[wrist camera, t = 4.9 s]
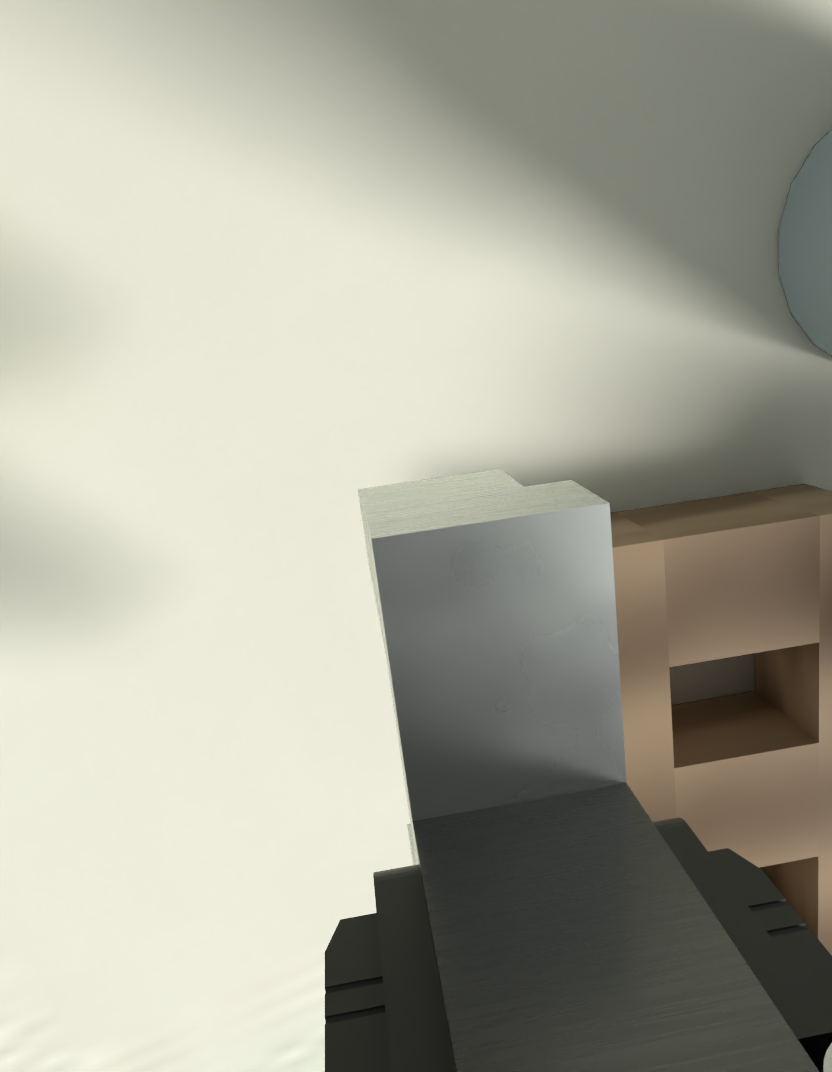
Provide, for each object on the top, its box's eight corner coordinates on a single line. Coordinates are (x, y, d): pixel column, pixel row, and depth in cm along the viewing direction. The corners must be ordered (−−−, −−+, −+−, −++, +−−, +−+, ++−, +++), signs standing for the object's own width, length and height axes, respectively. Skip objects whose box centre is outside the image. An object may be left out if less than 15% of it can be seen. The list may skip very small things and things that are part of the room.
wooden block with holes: (560, 520, 27) (599, 549, 24) (804, 483, 28) (881, 506, 24) (598, 987, 32) (635, 1074, 28) (805, 946, 33) (868, 1026, 29)
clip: (353, 456, 16) (417, 749, 5) (497, 435, 16) (885, 668, 5) (419, 906, 19) (557, 1748, 8) (541, 883, 19) (847, 1667, 8)
